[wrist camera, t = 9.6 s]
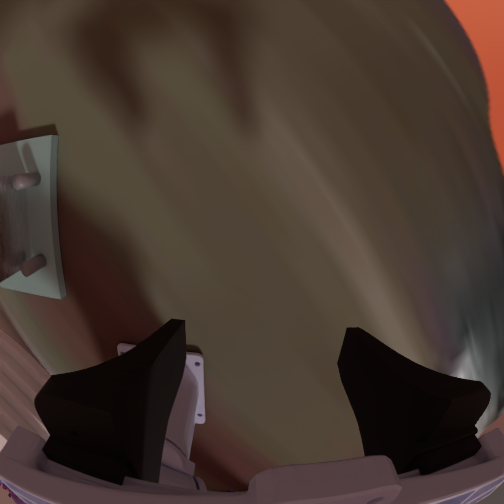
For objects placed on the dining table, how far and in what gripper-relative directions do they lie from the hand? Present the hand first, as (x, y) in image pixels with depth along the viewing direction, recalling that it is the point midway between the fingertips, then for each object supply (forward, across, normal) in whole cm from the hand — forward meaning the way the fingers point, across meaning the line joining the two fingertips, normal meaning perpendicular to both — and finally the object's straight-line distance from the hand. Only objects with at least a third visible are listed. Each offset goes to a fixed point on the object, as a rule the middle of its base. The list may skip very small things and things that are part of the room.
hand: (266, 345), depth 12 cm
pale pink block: (+9, +22, -3) cm, 24 cm away
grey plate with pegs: (+10, +22, -3) cm, 24 cm away
